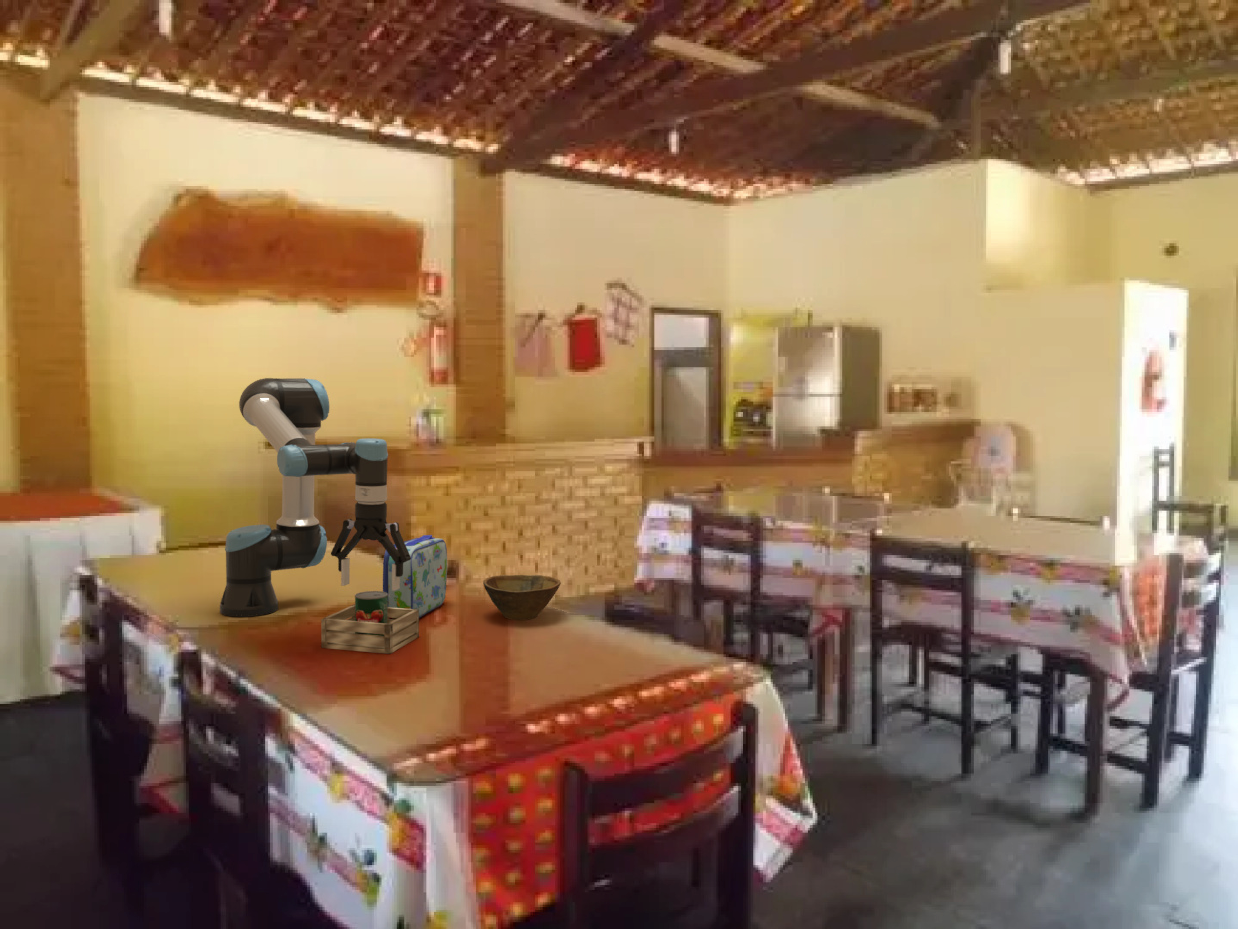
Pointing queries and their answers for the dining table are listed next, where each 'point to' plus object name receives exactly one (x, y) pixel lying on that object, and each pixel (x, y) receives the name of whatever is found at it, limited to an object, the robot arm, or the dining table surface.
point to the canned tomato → (371, 608)
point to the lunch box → (419, 576)
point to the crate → (369, 631)
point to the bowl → (521, 594)
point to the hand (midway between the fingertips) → (370, 587)
